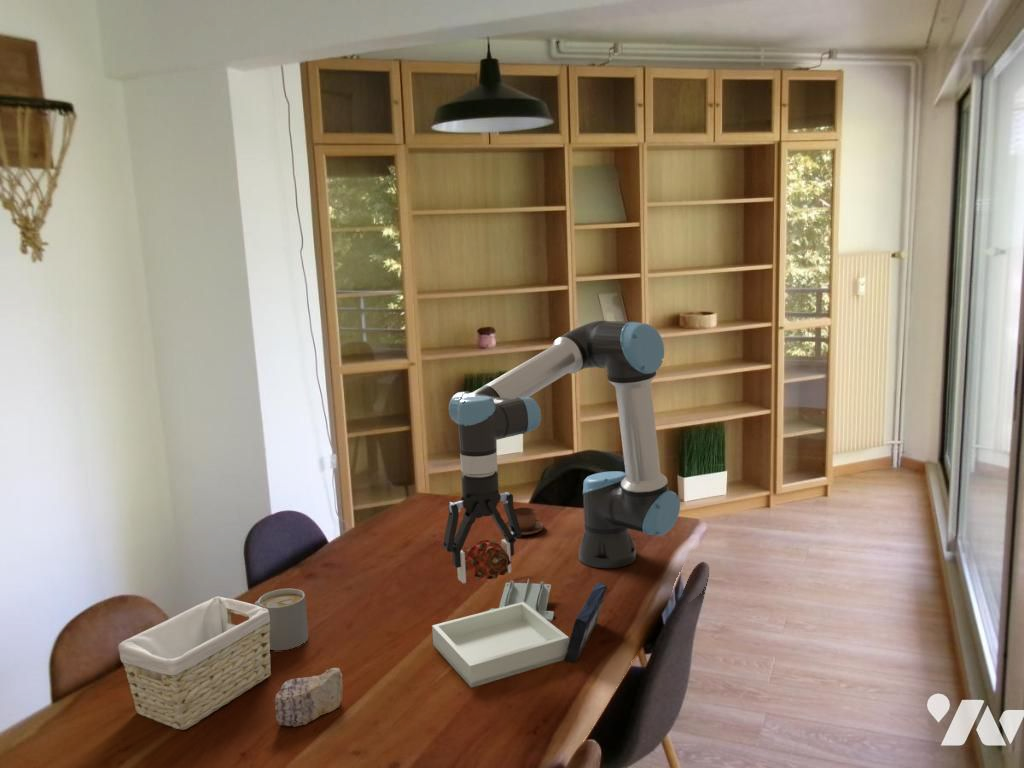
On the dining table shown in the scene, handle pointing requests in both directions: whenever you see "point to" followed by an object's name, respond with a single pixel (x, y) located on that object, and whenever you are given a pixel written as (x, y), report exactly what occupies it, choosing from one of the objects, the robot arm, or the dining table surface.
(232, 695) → the storage basket
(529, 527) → the cup and saucer
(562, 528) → the dining table surface
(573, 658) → the vhs cassette tape
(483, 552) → the dragon fruit
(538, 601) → the metal bracket
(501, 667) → the tray
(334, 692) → the mineral specimen
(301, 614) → the coffee mug
